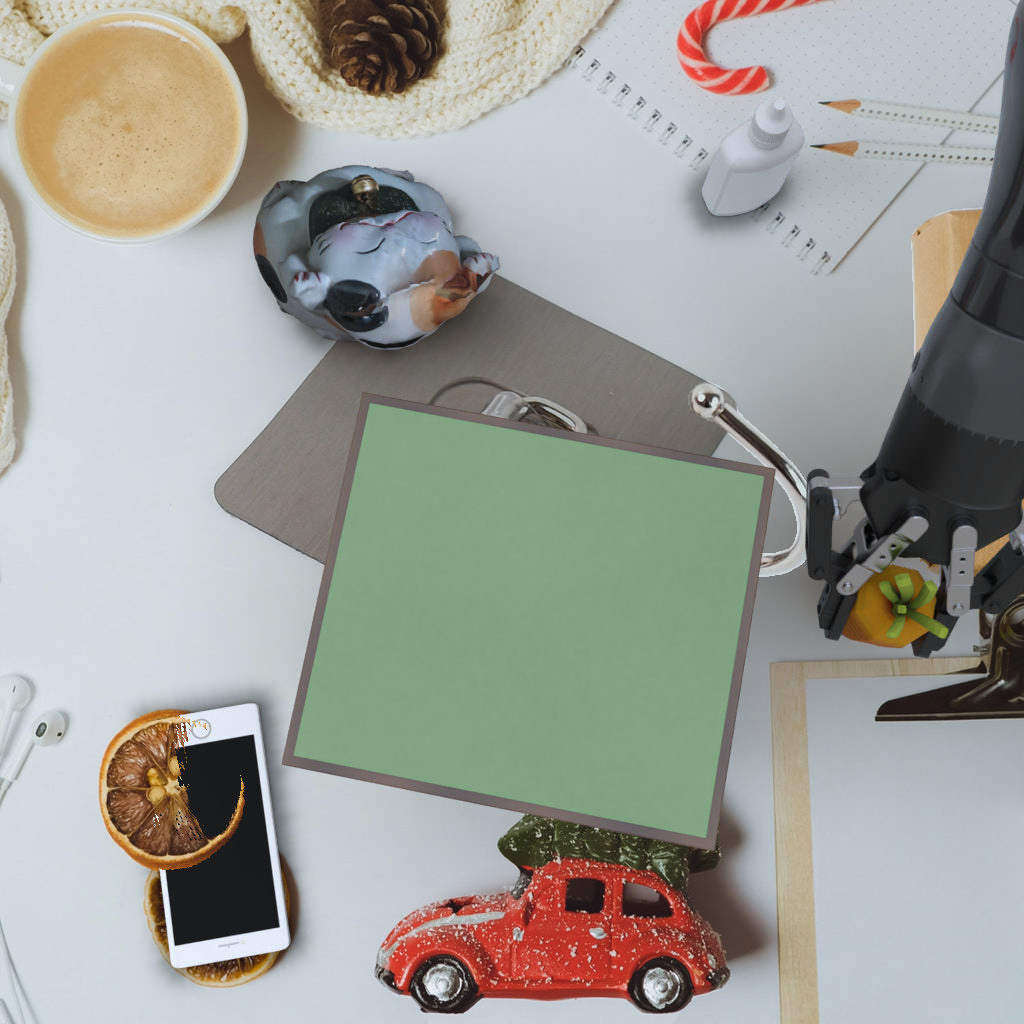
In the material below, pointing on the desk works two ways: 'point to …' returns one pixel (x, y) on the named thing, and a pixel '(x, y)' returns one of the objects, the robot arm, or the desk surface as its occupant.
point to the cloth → (533, 619)
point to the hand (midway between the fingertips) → (874, 638)
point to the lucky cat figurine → (367, 256)
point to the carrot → (894, 609)
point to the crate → (501, 802)
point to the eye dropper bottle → (753, 160)
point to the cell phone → (226, 846)
